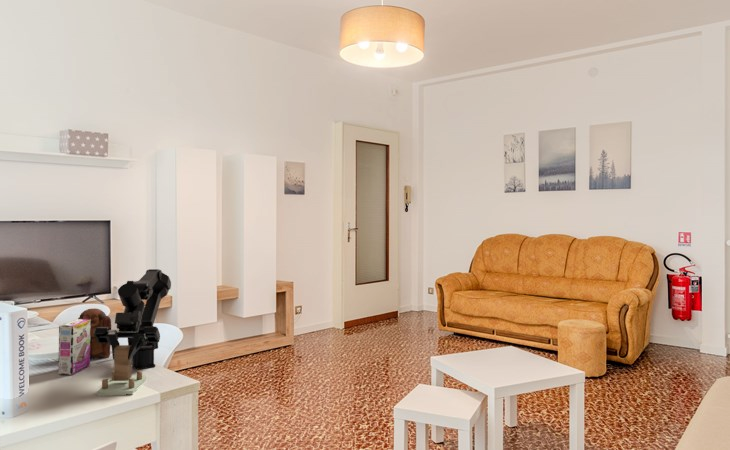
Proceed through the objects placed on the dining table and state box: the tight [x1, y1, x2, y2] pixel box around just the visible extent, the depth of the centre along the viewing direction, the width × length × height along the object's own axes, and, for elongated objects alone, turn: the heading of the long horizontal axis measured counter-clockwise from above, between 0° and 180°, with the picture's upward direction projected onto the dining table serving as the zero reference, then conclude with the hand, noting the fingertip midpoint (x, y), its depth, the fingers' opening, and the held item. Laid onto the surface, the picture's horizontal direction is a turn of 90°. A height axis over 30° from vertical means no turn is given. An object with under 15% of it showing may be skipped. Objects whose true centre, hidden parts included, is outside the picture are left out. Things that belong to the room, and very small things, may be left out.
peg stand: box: [96, 369, 147, 397], centre depth 164 cm, size 14×10×4 cm
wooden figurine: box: [77, 308, 112, 360], centre depth 195 cm, size 12×6×18 cm, turn 109°
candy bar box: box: [57, 318, 91, 376], centre depth 180 cm, size 11×5×16 cm, turn 178°
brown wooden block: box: [113, 344, 132, 381], centre depth 164 cm, size 4×4×10 cm
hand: (121, 359), depth 162 cm, fingers closed on brown wooden block, 4 cm apart
